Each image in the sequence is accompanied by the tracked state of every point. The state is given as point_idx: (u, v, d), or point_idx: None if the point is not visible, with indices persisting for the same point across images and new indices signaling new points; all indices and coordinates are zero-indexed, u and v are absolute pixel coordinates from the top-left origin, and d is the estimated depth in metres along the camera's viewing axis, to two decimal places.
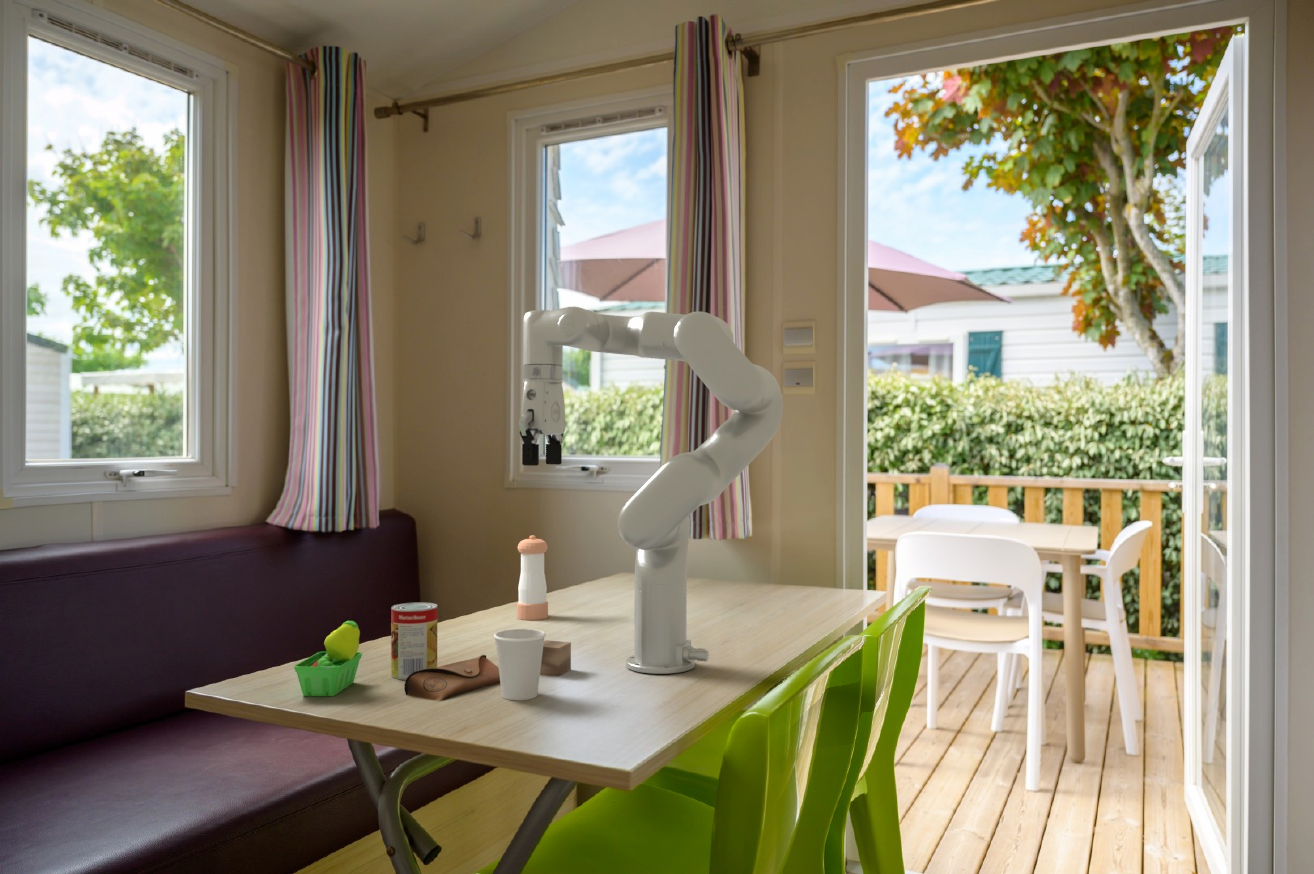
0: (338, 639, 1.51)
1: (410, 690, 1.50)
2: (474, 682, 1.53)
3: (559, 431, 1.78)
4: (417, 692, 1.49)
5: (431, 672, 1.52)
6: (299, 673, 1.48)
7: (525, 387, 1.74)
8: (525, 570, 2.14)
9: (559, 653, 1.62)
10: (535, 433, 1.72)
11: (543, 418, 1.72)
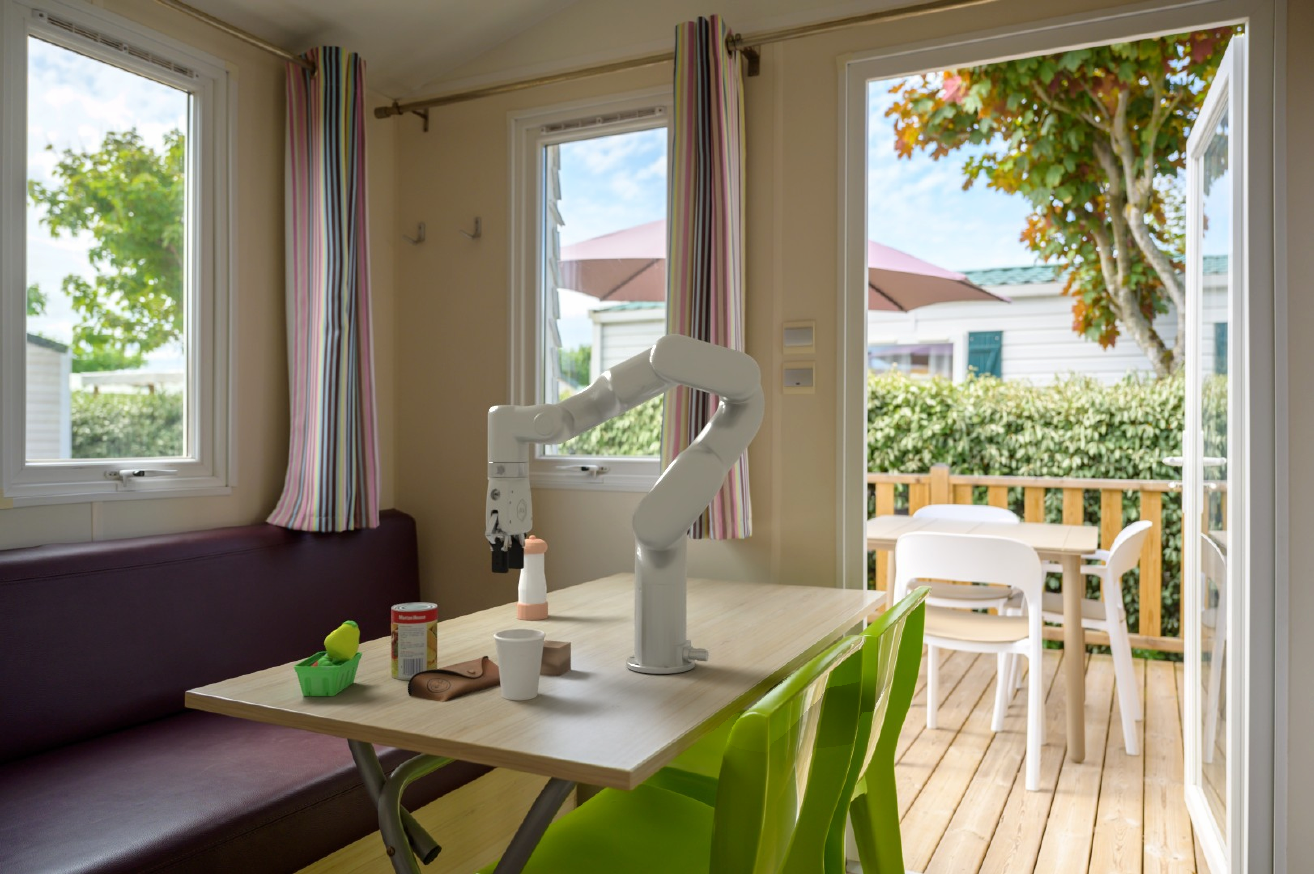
0: (338, 639, 1.51)
1: (414, 692, 1.49)
2: (477, 683, 1.52)
3: (525, 529, 1.71)
4: (420, 693, 1.48)
5: (434, 672, 1.51)
6: (299, 673, 1.48)
7: (489, 486, 1.67)
8: (525, 570, 2.14)
9: (559, 653, 1.62)
10: (503, 540, 1.67)
11: (508, 519, 1.65)
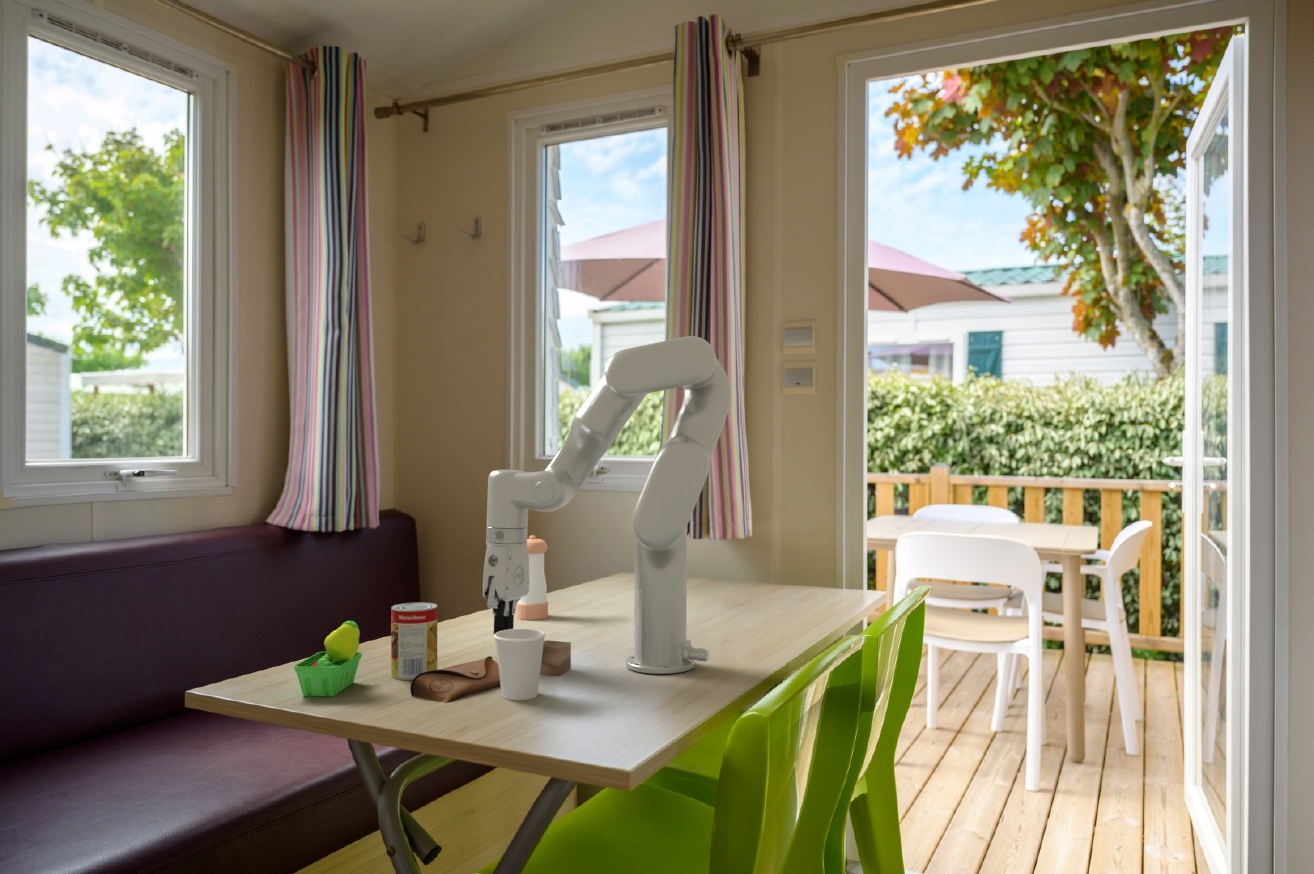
0: (338, 639, 1.51)
1: (416, 692, 1.49)
2: (480, 684, 1.52)
3: (522, 594, 1.71)
4: (423, 694, 1.48)
5: (437, 673, 1.51)
6: (299, 673, 1.48)
7: (487, 552, 1.67)
8: None
9: (559, 653, 1.62)
10: (504, 607, 1.68)
11: (505, 586, 1.65)
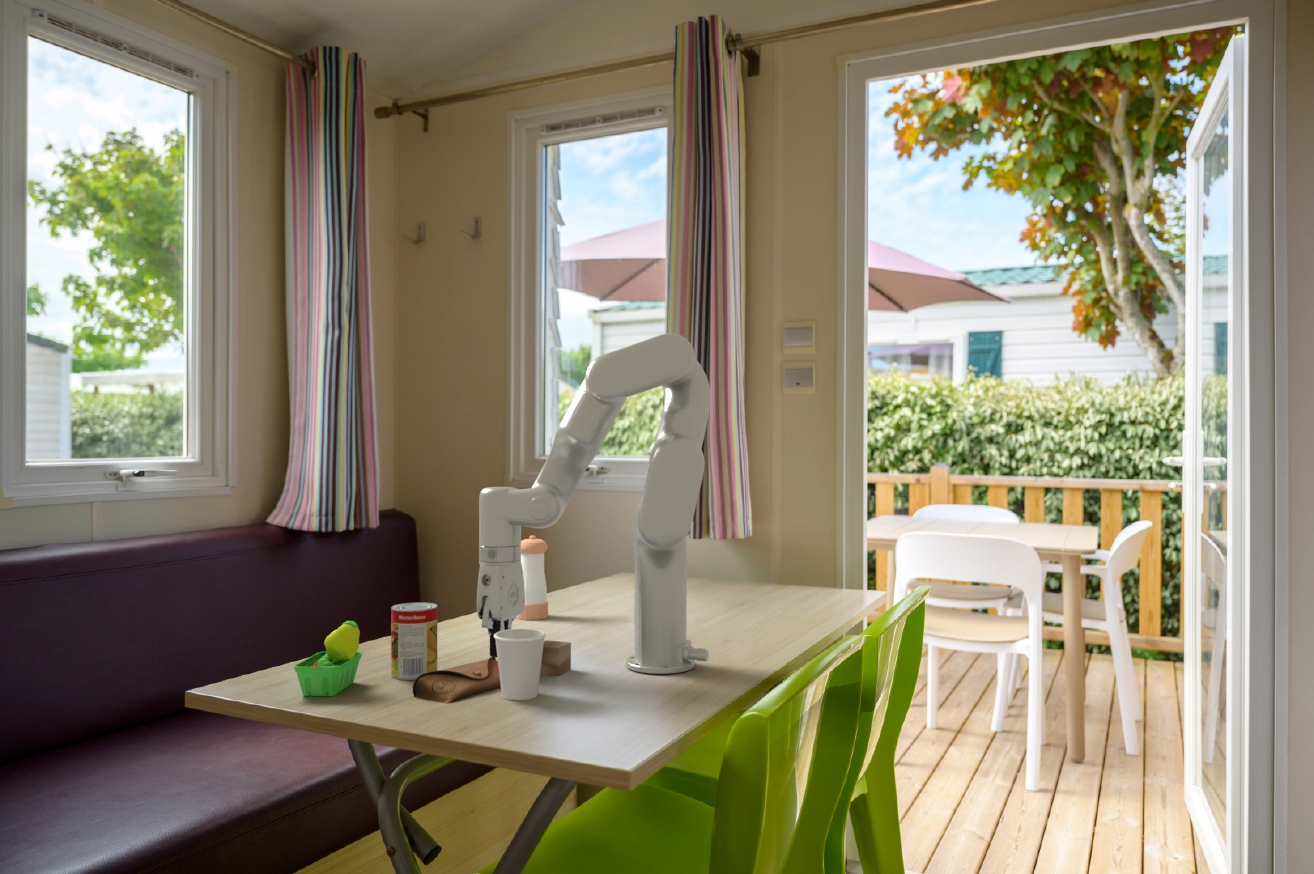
0: (338, 639, 1.51)
1: (419, 693, 1.48)
2: (483, 685, 1.51)
3: (517, 613, 1.68)
4: (425, 694, 1.47)
5: (439, 674, 1.51)
6: (299, 673, 1.48)
7: (480, 571, 1.64)
8: (525, 570, 2.14)
9: (559, 653, 1.62)
10: (499, 626, 1.65)
11: (499, 606, 1.62)
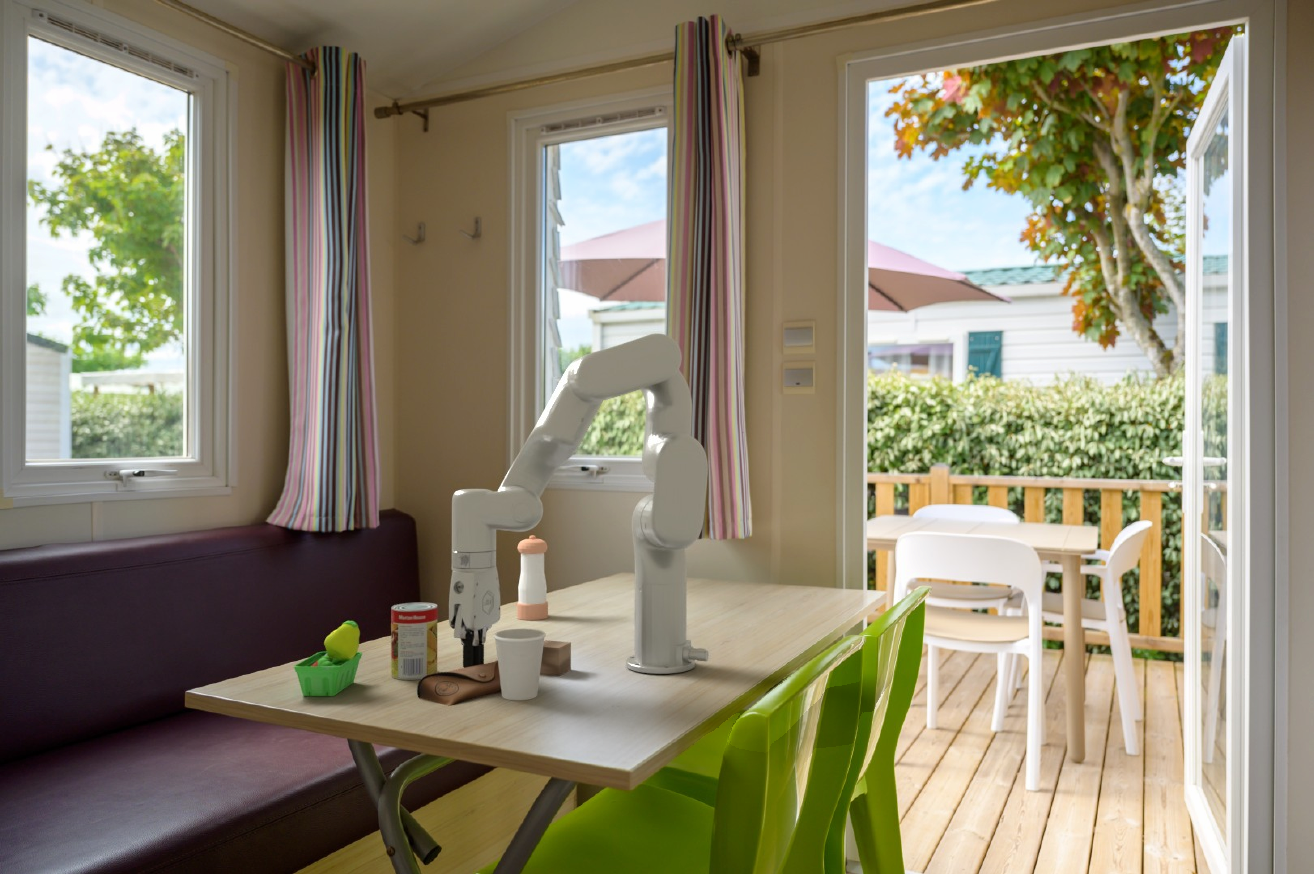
0: (338, 639, 1.51)
1: (423, 694, 1.48)
2: (487, 687, 1.50)
3: (492, 622, 1.60)
4: (428, 696, 1.47)
5: (444, 675, 1.50)
6: (299, 673, 1.48)
7: (452, 578, 1.56)
8: (525, 570, 2.14)
9: (559, 653, 1.62)
10: (473, 636, 1.57)
11: (472, 614, 1.54)
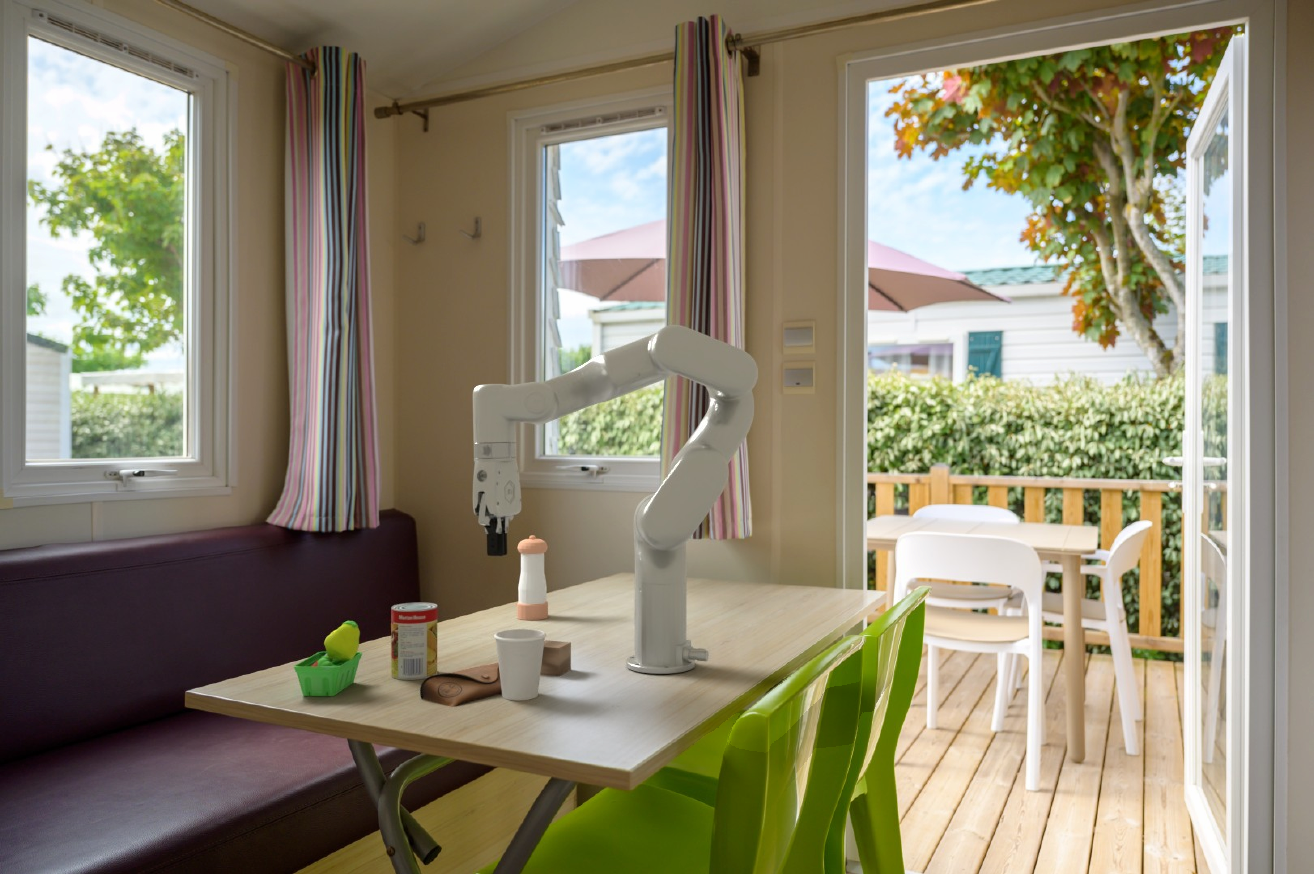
0: (338, 639, 1.51)
1: (426, 695, 1.47)
2: (490, 689, 1.49)
3: (514, 511, 1.67)
4: (431, 697, 1.46)
5: (447, 676, 1.49)
6: (299, 673, 1.48)
7: (475, 467, 1.62)
8: (525, 570, 2.14)
9: (559, 653, 1.62)
10: (496, 524, 1.64)
11: (495, 501, 1.61)
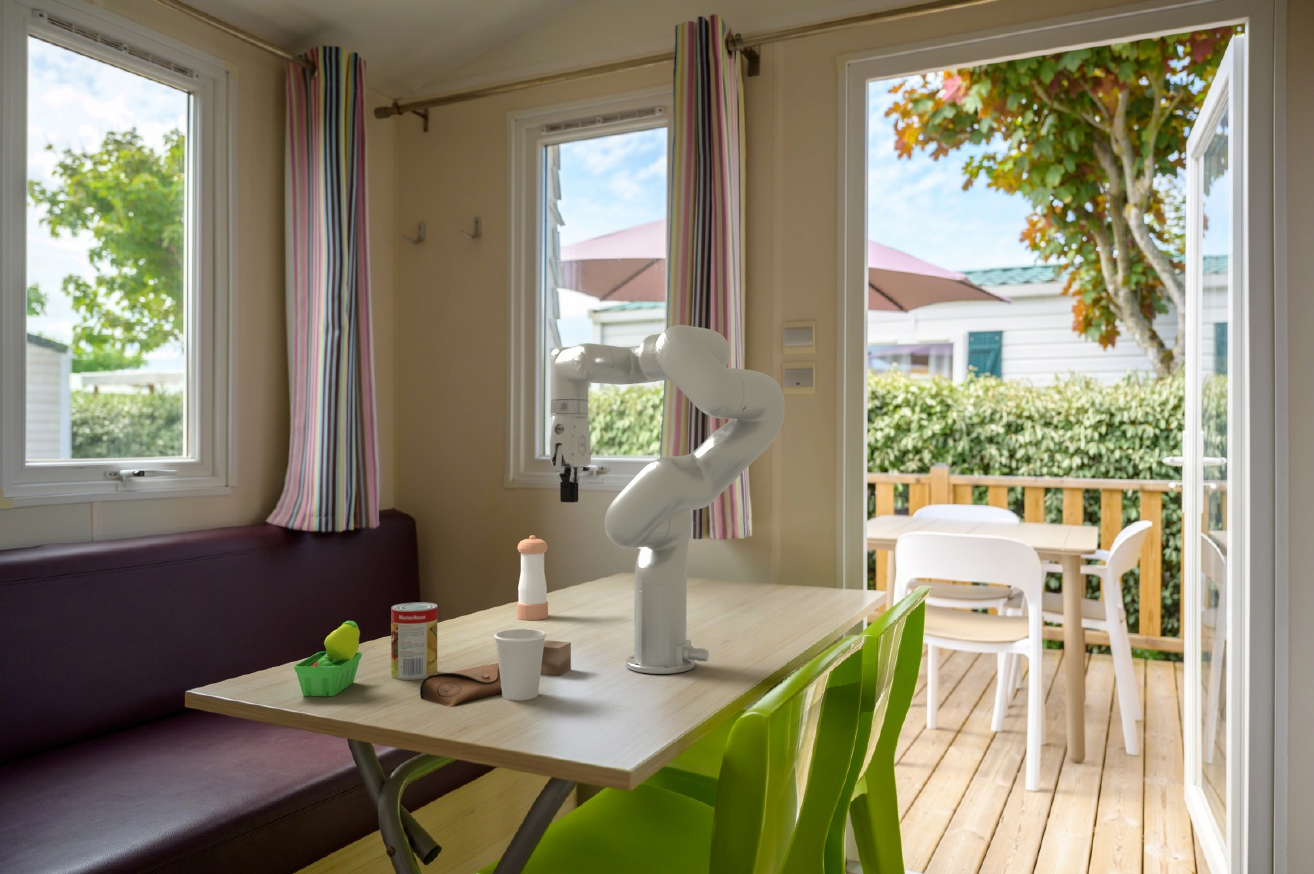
0: (338, 639, 1.51)
1: (425, 695, 1.47)
2: (490, 689, 1.49)
3: (585, 463, 1.85)
4: (431, 697, 1.46)
5: (447, 676, 1.49)
6: (299, 673, 1.48)
7: (553, 422, 1.80)
8: (525, 570, 2.14)
9: (559, 653, 1.62)
10: (570, 473, 1.82)
11: (571, 452, 1.79)
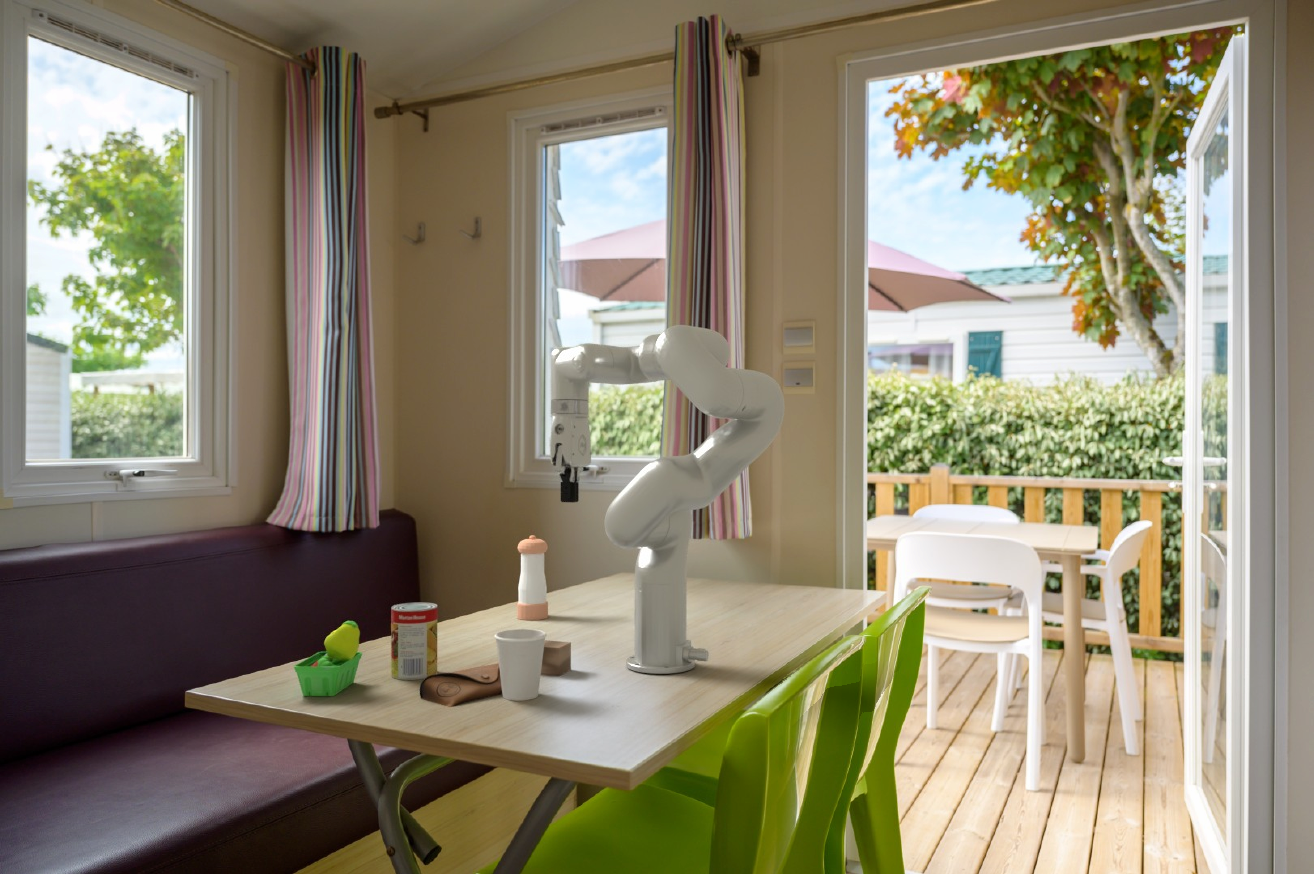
0: (338, 639, 1.51)
1: (425, 695, 1.47)
2: (489, 689, 1.49)
3: (585, 463, 1.85)
4: (430, 697, 1.46)
5: (446, 676, 1.49)
6: (299, 673, 1.48)
7: (553, 422, 1.81)
8: (525, 570, 2.14)
9: (559, 653, 1.62)
10: (570, 473, 1.82)
11: (571, 452, 1.79)
